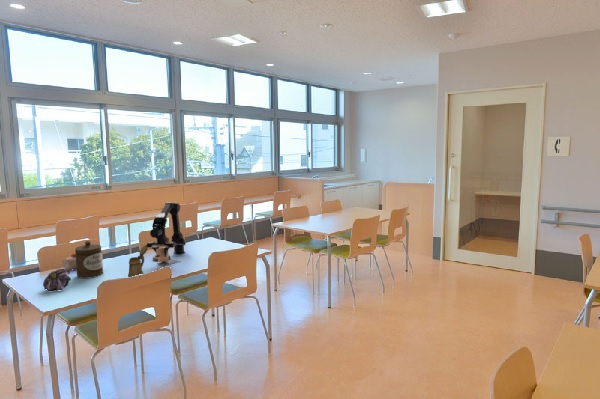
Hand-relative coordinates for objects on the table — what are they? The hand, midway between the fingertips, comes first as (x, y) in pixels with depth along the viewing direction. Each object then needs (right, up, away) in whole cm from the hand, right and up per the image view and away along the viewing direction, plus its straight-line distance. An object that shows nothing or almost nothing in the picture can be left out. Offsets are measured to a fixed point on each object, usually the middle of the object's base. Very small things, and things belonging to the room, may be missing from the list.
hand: (162, 256), depth 277 cm
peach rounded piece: (0, -3, 0) cm, 3 cm away
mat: (+3, -5, +5) cm, 8 cm away
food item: (-57, -7, -5) cm, 57 cm away
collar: (-6, -4, +15) cm, 17 cm away
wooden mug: (-8, -9, -20) cm, 23 cm away
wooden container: (-40, -9, -19) cm, 45 cm away
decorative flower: (-46, -12, -44) cm, 65 cm away
